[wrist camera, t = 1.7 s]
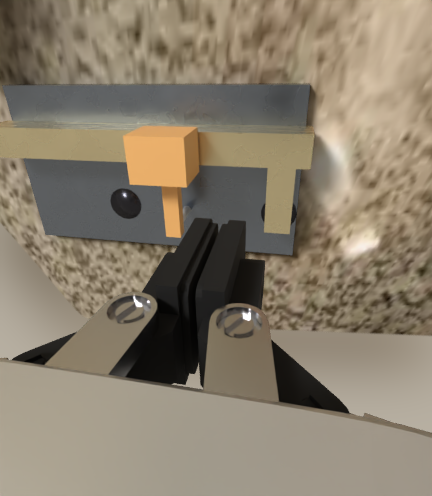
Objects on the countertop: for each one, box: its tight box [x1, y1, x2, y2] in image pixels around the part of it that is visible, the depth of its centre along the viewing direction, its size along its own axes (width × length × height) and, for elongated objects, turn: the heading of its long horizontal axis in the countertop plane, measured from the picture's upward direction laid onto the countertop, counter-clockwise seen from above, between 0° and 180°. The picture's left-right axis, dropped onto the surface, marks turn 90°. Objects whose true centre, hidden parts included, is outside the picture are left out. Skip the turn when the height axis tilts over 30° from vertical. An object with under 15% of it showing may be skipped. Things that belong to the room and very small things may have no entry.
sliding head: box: [123, 126, 199, 238], centre depth 26 cm, size 4×8×6 cm, turn 1°
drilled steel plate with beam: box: [0, 84, 315, 255], centre depth 29 cm, size 26×14×4 cm, turn 91°
